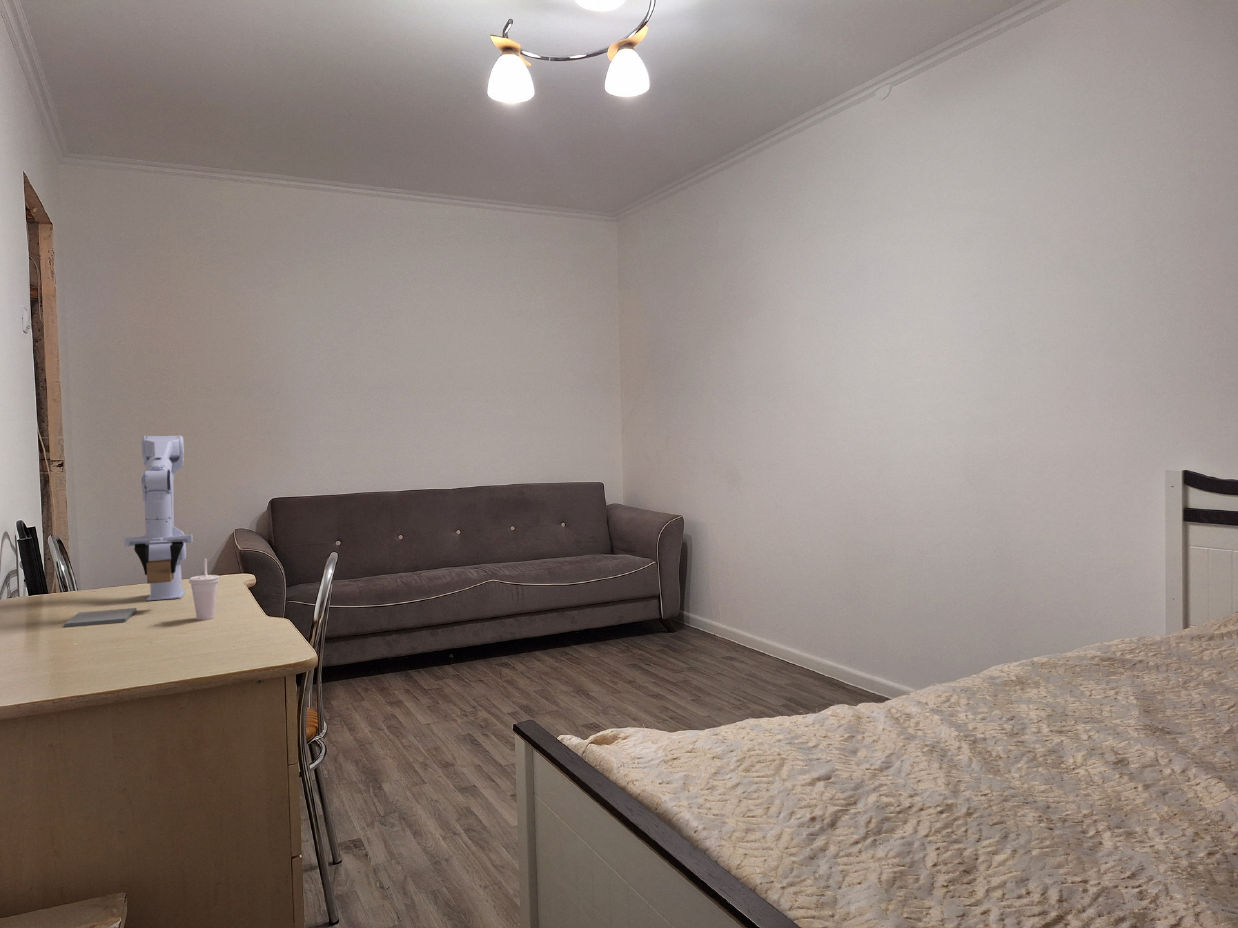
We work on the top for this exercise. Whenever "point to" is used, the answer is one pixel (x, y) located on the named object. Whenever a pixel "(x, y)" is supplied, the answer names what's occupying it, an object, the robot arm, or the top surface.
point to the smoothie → (205, 594)
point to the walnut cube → (159, 571)
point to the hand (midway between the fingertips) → (160, 573)
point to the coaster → (100, 617)
